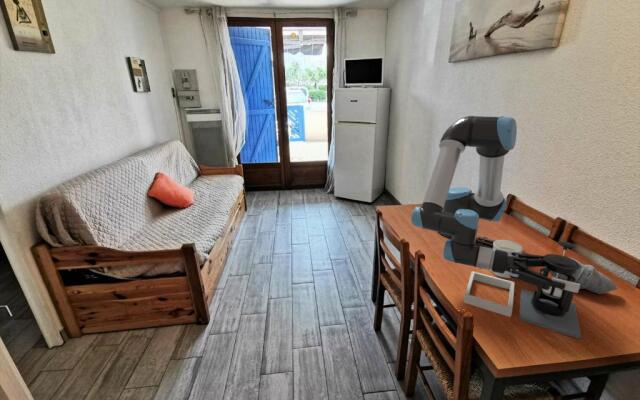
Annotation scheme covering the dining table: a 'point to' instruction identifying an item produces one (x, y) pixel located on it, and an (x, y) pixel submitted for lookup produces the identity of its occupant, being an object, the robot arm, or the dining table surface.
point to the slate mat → (549, 316)
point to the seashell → (590, 279)
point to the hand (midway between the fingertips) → (575, 278)
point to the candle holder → (509, 248)
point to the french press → (554, 294)
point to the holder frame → (486, 303)
